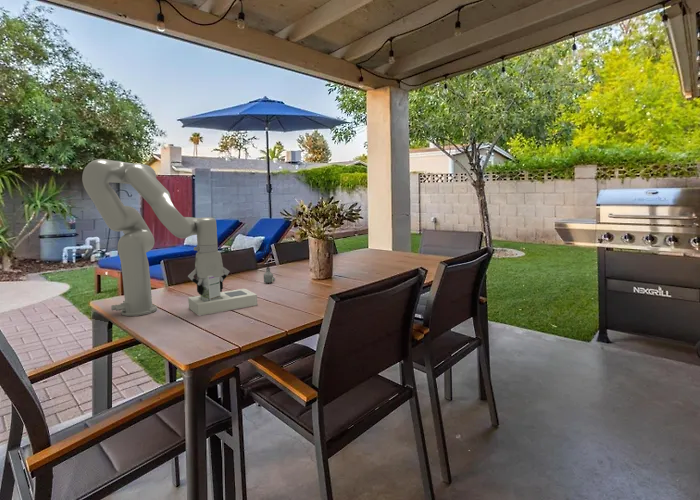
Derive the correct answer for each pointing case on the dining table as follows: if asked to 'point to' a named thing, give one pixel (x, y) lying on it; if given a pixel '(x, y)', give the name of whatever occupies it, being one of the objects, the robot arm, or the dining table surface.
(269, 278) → the reed diffuser
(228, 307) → the caddy
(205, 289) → the syrup box
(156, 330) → the dining table surface
